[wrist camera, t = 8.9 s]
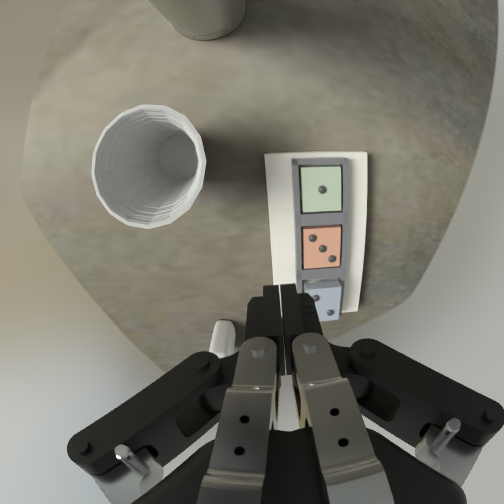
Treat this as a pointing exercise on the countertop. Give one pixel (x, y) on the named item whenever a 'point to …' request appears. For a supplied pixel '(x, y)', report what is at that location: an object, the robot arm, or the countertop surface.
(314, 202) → the key one
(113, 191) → the plastic cup
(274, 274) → the keypad
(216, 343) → the eye dropper bottle
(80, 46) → the countertop surface
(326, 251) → the key three
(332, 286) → the key two
